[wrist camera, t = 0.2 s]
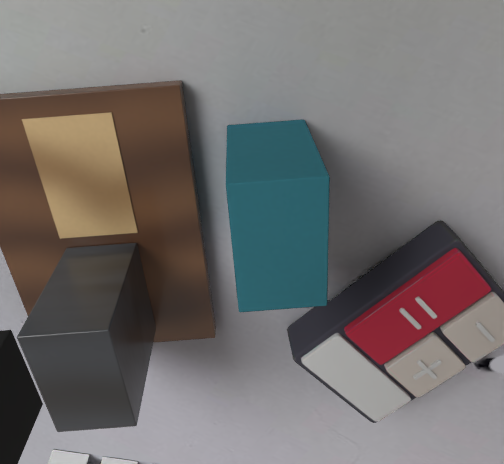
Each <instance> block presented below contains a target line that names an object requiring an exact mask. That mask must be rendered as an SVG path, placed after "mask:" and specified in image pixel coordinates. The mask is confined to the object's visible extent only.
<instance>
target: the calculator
mask: <svg viewBox="0 0 504 464" xmlns="http://www.w3.org/2000/svg"><path fill="white" fill-rule="evenodd" d="M287 331H288V336H289V341H290V346H291V350H292V355H293V359H294V361H295V362H296V363H297V364H299V365H300V366H301V367H303V368H304V369H305V370H306V371H308V372H309V373H310V374H311V375H313V376H314V377H315V378H316V379H318V380H319V381H320V382H321V383H323V384H324V385H325V386H326V387H328V388H329V389H330V390H331V391H333V392H334V393H335V394H337V395H338V396H339V397H340V398H342V399H343V400H344V401H345V402H347V403H348V404H349V405H350V406H352V407H353V408H354V409H355V410H357V411H358V412H359V413H360V414H362V415H363V416H364V417H365V418H367V419H368V420H369V421H371V422H373V423H376V422H378V421H380V420H382V419H383V418H385V417H386V416H388V415H389V414H391V413H393V412H394V411H396V410H397V409H399V408H400V407H402V406H404V405H405V404H407V403H408V402H410V401H411V400H413V399H414V398H416V397H418V398H419V397H421V396H423V395H424V394H426V393H428V392H429V391H431V390H432V389H434V388H435V387H437V386H439V385H440V384H442V383H443V382H445V381H446V380H448V379H450V378H451V377H453V376H454V375H456V374H458V373H459V372H461V371H462V370H464V369H465V368H466V365H468V364H469V363H471V362H476V361H478V360H480V359H481V358H483V357H484V356H486V355H487V354H489V353H491V352H492V351H494V350H495V349H497V348H498V347H500V346H502V345H503V344H504V292H503V291H502V289H501V288H500V287H499V286H498V284H497V283H496V282H495V281H494V280H493V278H492V277H491V276H490V275H489V274H488V272H487V271H486V270H485V269H484V267H483V266H482V265H481V264H480V263H479V261H478V260H477V259H476V258H475V257H474V255H473V254H472V253H471V252H470V250H469V249H468V248H467V247H466V246H465V244H464V243H463V242H462V241H461V240H460V239H459V238H458V236H457V235H456V234H455V233H454V232H453V231H452V230H451V229H450V228H449V227H448V226H447V225H446V224H445V223H444V222H443V221H437V222H435V223H434V224H433V225H431V226H430V227H429V228H427V229H426V230H425V231H423V232H422V233H421V234H419V235H418V236H417V237H415V238H414V239H413V240H411V241H410V242H409V243H407V244H406V245H405V246H403V247H402V248H401V249H399V250H398V251H397V252H395V253H394V254H393V255H391V256H390V257H389V258H387V259H386V260H385V261H383V262H382V263H381V264H379V265H378V266H377V267H375V268H374V269H373V270H371V271H370V272H369V273H367V274H366V275H365V276H363V277H362V278H361V279H359V280H358V281H357V282H355V283H354V284H353V285H351V286H350V287H349V288H347V289H346V290H345V291H343V292H342V293H341V294H339V295H338V296H337V297H335V298H334V299H333V300H331V301H329V302H327V305H326V306H316V307H314V308H313V309H312V310H310V311H309V312H308V313H306V314H305V315H304V316H302V317H301V318H300V319H298V320H297V321H296V322H295V323H293V324H292V325H291V326H289V327H288V329H287Z"/></svg>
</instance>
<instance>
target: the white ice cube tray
mask: <svg viewBox="0 0 504 464" xmlns="http://www.w3.org/2000/svg"><path fill="white" fill-rule="evenodd" d="M88 458H89V455H88V454H81V453H74V452H67V451H60V450H52V453H51V456H50V458H49V461H48V464H87V463H88ZM101 464H138V462H137V461H130V460H123V459H116V458H109V457H102V461H101Z"/></svg>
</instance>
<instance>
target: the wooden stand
mask: <svg viewBox="0 0 504 464" xmlns="http://www.w3.org/2000/svg"><path fill="white" fill-rule="evenodd" d="M0 247H1V250H2V252H3V255H4V257H5V260H6V262H7V265H8V267H9V270H10V272H11V275H12V277H13V280H14V282H15V285H16V287H17V290H18V292H19V295H20V297H21V300H22V302H23V305H24V307H25V310H26V312H27V315H28V318H27V320H26V322H25V323H24V325H23V327H22V329H21V331H20V332H19V334H18V336H17V339H18V341H19V343H20V346H21V348H22V350H23V353H24V355H25V357H26V360H27V362H28V364H29V367H30V369H31V371H32V374H33V376H34V378H35V381H36V383H37V385H38V388H39V390H40V393H41V395H42V397H43V400H44V402H45V404H46V407H47V409H48V411H49V414H50V416H51V418H52V421H53V423H54V425H55V428H56V430H57V432H64V431H77V430H91V429H104V428H117V427H131V426H136V425H137V421H138V416H139V411H140V406H141V401H142V396H143V391H144V386H145V381H146V376H147V371H148V366H149V361H150V356H151V351H152V346H153V342H165V341H178V340H191V339H205V338H215V335H216V326H215V318H214V311H213V304H212V297H211V289H210V282H209V275H208V268H207V261H206V253H205V246H204V239H203V232H202V224H201V217H200V210H199V203H198V195H197V188H196V181H195V174H194V166H193V159H192V152H191V145H190V138H189V130H188V123H187V116H186V109H185V101H184V94H183V87H182V81H168V82H154V83H141V84H128V85H115V86H102V87H89V88H75V89H62V90H49V91H36V92H23V93H10V94H0Z"/></svg>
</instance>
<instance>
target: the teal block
mask: <svg viewBox="0 0 504 464" xmlns="http://www.w3.org/2000/svg"><path fill="white" fill-rule="evenodd" d="M329 182H330V177H329V174H328V172H327V170H326V168H325V165H324V163H323V161H322V158H321V156H320V154H319V152H318V149H317V147H316V145H315V143H314V140H313V138H312V136H311V133H310V131H309V129H308V127H307V124H306V122H305V120H291V121H278V122H265V123H252V124H239V125H228V126H227V158H226V191H227V201H228V210H229V220H230V230H231V239H232V249H233V259H234V269H235V278H236V288H237V298H238V308H239V312H250V311H263V310H276V309H289V308H302V307H316V306H326V305H327V283H328V232H329Z"/></svg>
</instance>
